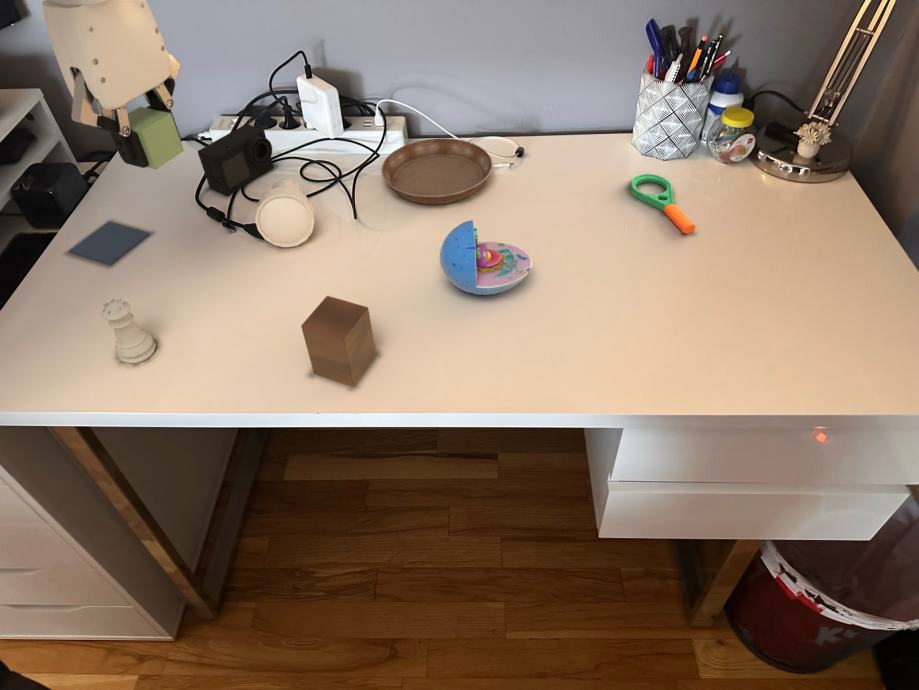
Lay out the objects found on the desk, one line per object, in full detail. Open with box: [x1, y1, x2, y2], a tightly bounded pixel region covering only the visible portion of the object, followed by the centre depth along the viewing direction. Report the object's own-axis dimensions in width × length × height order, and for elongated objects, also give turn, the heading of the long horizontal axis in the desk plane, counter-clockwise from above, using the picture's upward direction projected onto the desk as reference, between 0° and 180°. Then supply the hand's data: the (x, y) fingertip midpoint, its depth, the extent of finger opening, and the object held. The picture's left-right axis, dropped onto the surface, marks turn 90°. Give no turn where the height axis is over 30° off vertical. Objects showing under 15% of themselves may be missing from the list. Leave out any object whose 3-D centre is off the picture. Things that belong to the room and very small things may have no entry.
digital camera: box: [197, 123, 274, 197], centre depth 108 cm, size 10×5×7 cm, turn 146°
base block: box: [300, 295, 377, 388], centre depth 78 cm, size 6×6×8 cm
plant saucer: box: [380, 137, 493, 205], centre depth 108 cm, size 18×18×3 cm
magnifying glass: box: [630, 173, 696, 234], centre depth 101 cm, size 15×6×2 cm, turn 15°
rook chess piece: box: [100, 296, 157, 365], centre depth 80 cm, size 4×4×8 cm
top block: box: [127, 106, 185, 170], centre depth 74 cm, size 4×4×4 cm
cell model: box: [439, 219, 533, 296], centre depth 87 cm, size 10×12×10 cm
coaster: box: [68, 221, 151, 266], centre depth 99 cm, size 8×8×1 cm
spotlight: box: [254, 179, 315, 248], centre depth 99 cm, size 8×11×8 cm
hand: (153, 151), depth 75 cm, fingers closed on top block, 4 cm apart
